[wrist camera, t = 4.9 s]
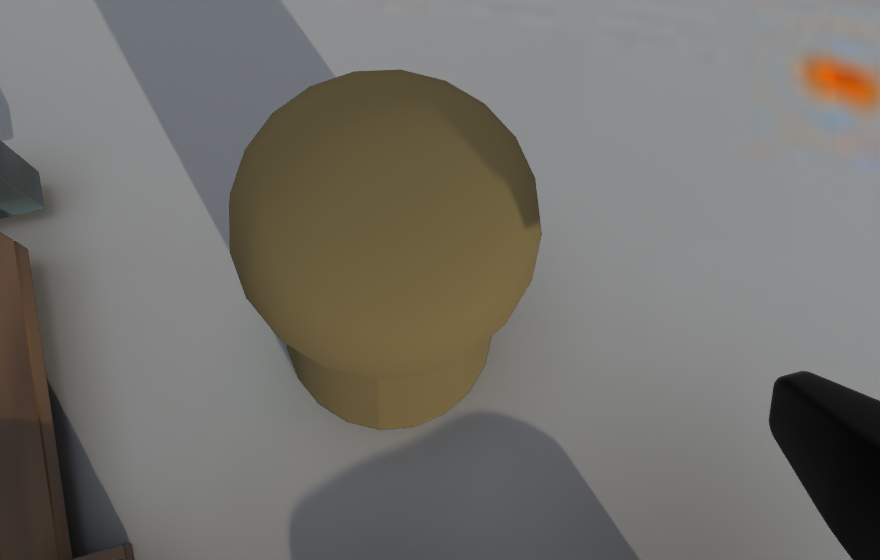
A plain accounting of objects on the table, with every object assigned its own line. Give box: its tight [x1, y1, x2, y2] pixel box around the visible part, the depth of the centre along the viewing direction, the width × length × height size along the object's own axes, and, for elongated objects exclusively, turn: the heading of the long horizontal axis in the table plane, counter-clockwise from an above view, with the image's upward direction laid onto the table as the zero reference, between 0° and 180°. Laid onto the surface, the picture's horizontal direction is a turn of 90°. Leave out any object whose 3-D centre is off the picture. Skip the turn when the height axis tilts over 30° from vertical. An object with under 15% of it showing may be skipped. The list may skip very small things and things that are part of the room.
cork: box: [229, 70, 542, 430], centre depth 16 cm, size 6×6×11 cm
